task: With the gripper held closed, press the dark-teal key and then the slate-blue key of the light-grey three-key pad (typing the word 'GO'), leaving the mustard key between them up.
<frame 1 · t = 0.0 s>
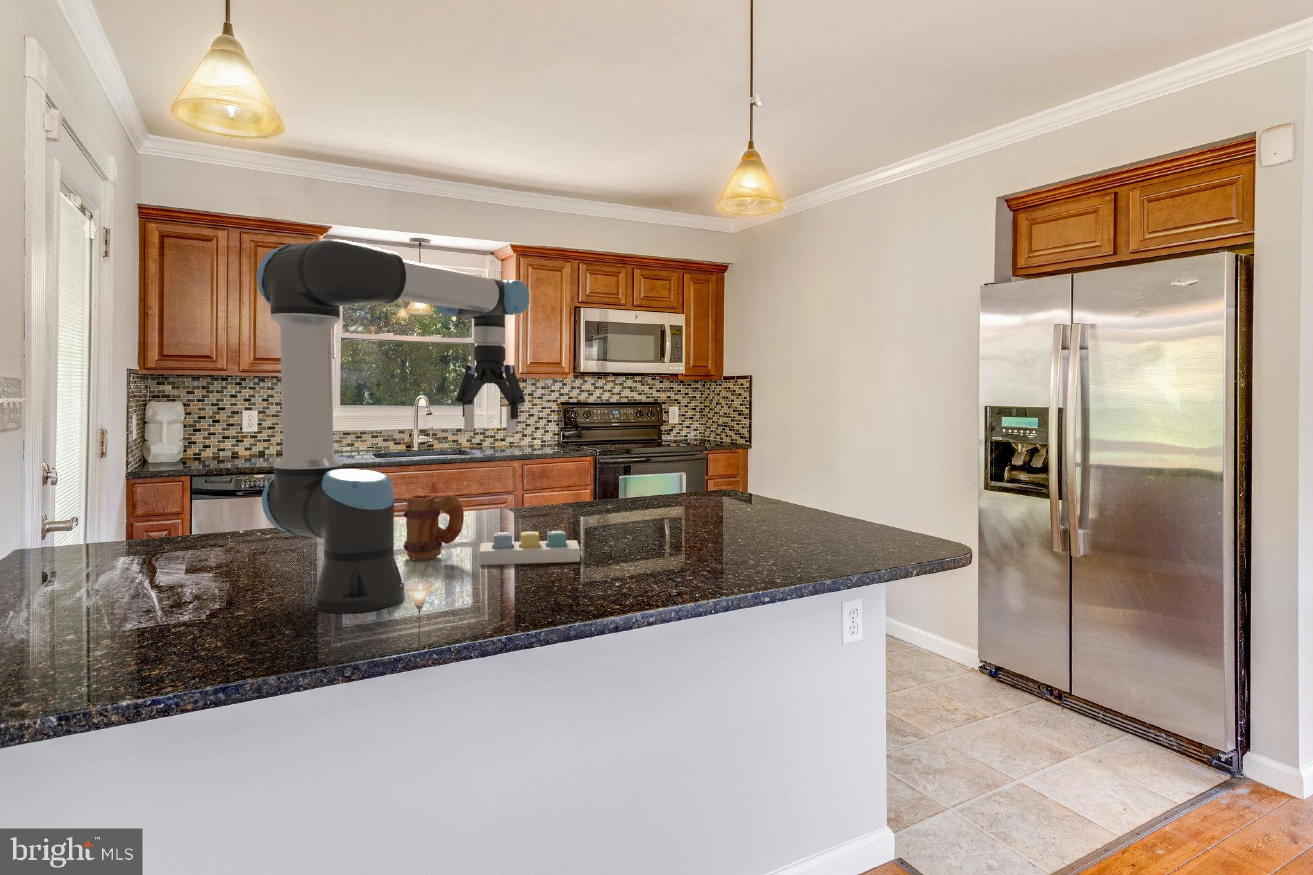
hand: (489, 431, 178), 28 cm above the countertop, fingers open, 13 cm apart
key g: (556, 539, 165), point 4 cm above the countertop, slide at 0.0 cm
mug: (433, 560, 163), on the countertop
key o: (502, 540, 163), point 4 cm above the countertop, slide at 0.0 cm
key x: (529, 539, 164), point 4 cm above the countertop, slide at 0.0 cm
keypad: (529, 558, 164), on the countertop
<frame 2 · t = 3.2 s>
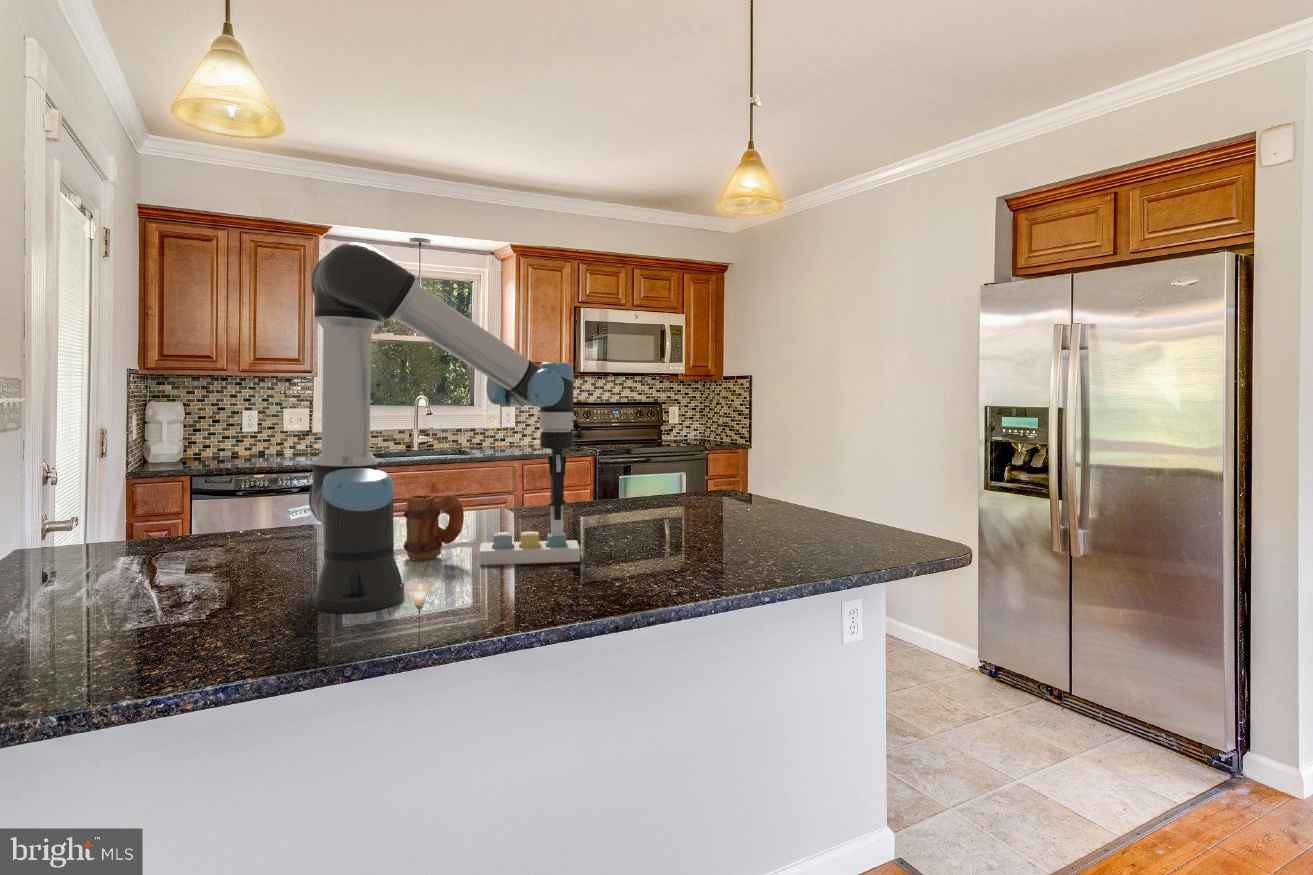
hand: (557, 532, 165), 6 cm above the countertop, fingers closed
key g: (556, 541, 165), point 4 cm above the countertop, slide at -0.5 cm, touching gripper
everything else where it was.
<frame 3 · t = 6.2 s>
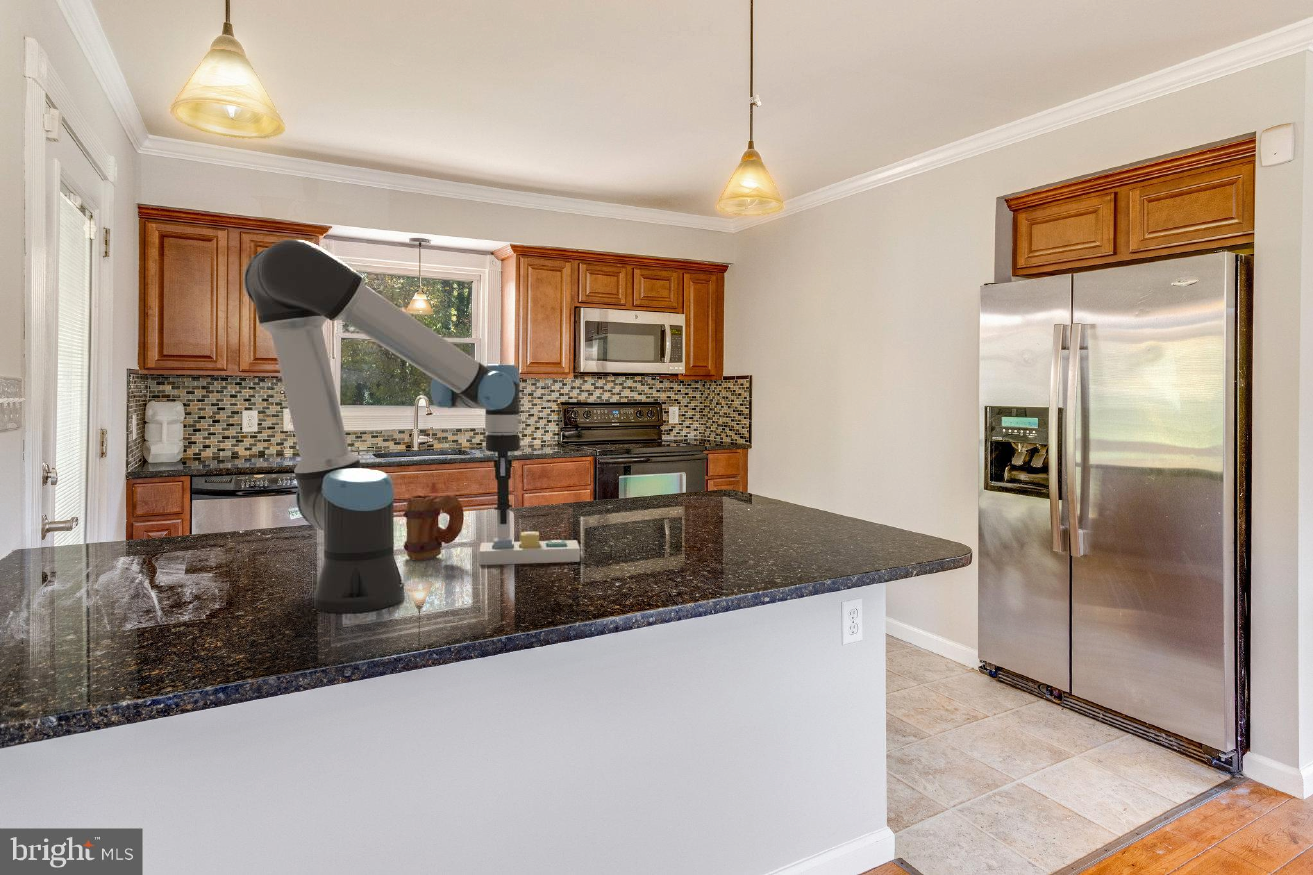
hand: (503, 537, 163), 5 cm above the countertop, fingers closed
key g: (556, 548, 166), point 2 cm above the countertop, slide at -2.2 cm
key o: (502, 545, 163), point 3 cm above the countertop, slide at -1.2 cm, touching gripper
everything else where it was.
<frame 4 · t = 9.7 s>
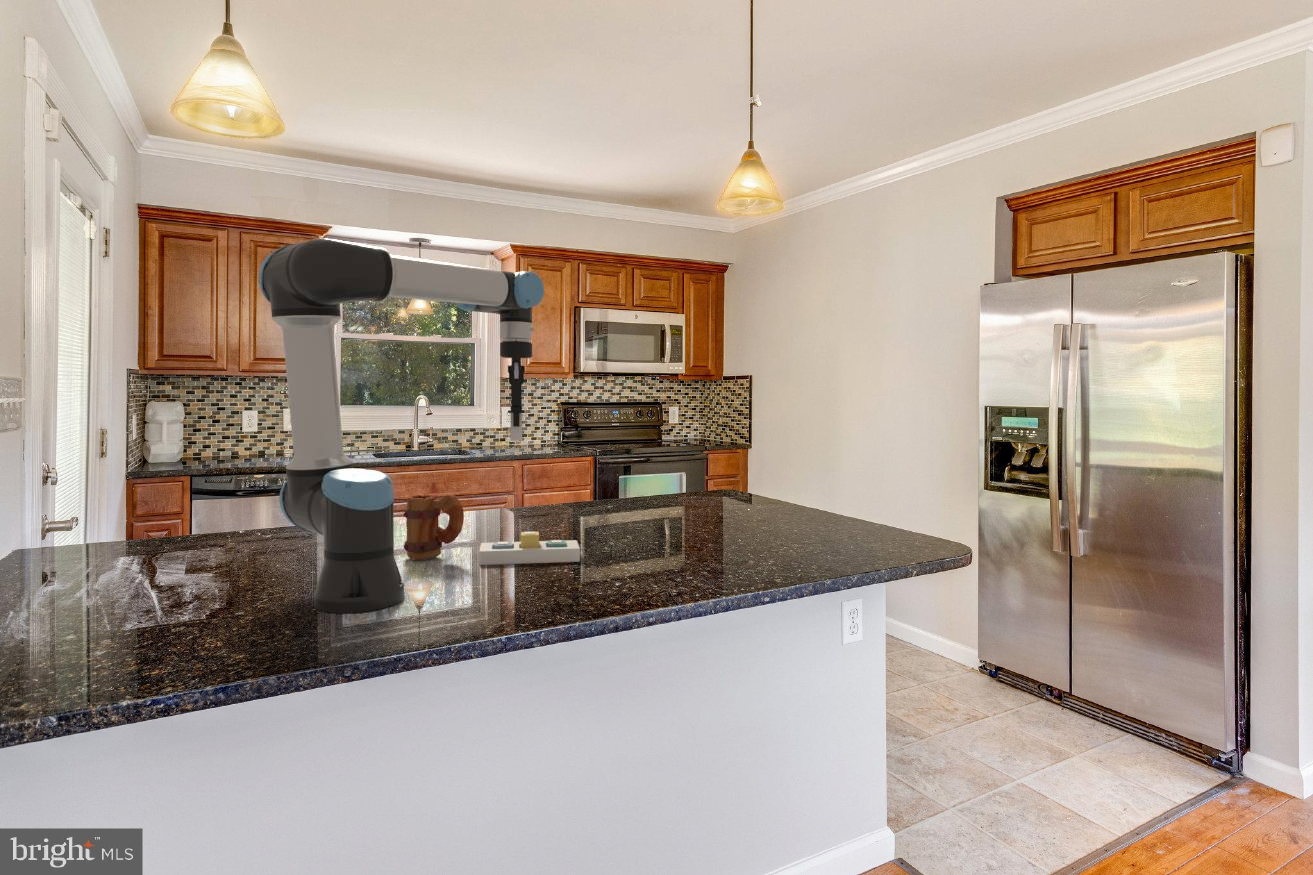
hand: (516, 440, 172), 26 cm above the countertop, fingers closed
key o: (502, 550, 163), point 2 cm above the countertop, slide at -2.2 cm
everything else where it was.
at the end: key g slide at -2.2 cm; key o slide at -2.2 cm; key x slide at 0.0 cm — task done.
